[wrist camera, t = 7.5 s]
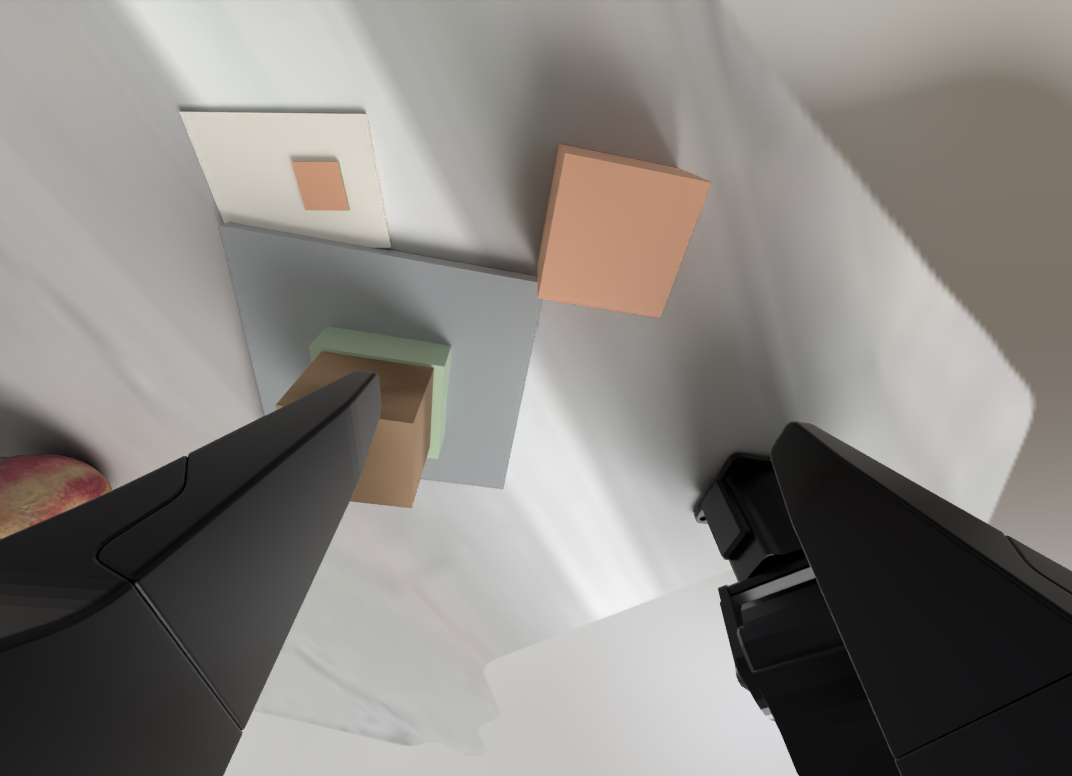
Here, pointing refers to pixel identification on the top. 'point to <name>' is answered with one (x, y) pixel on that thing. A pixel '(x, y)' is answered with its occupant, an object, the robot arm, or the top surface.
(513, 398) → the plate
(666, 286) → the brick terracotta
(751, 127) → the top surface
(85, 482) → the fruit
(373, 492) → the brown block
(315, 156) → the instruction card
